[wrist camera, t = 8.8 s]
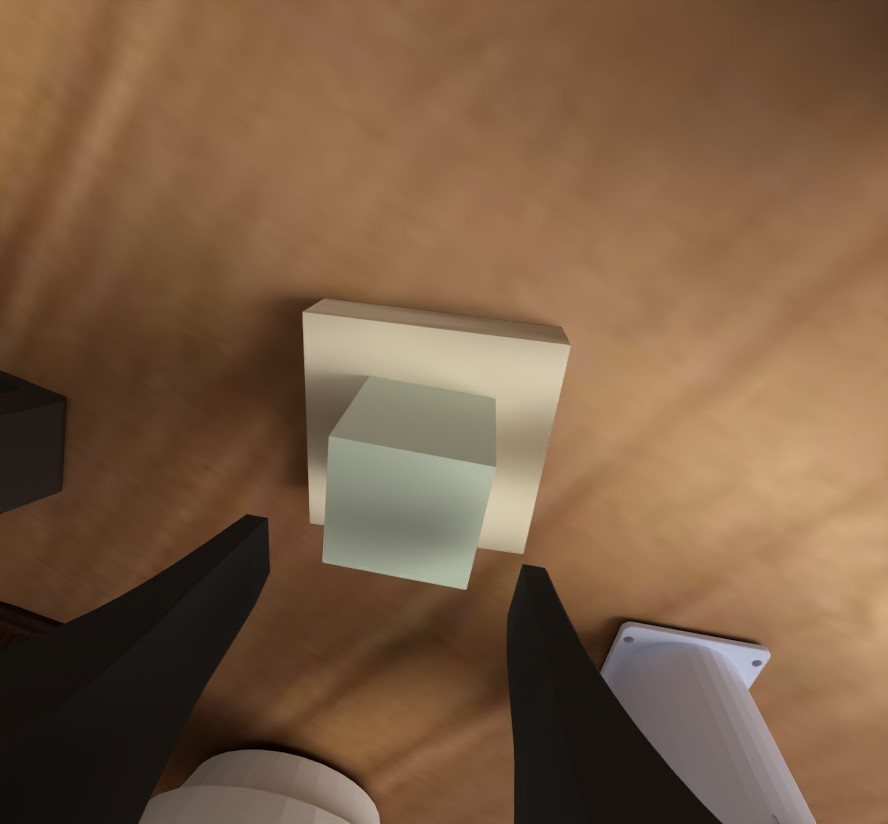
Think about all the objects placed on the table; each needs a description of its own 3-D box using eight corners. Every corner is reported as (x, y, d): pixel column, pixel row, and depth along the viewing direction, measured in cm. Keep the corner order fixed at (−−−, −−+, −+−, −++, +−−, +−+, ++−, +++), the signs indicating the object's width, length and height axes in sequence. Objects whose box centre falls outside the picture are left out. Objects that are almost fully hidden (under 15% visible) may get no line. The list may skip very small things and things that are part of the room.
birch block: (519, 513, 24) (523, 554, 21) (330, 486, 24) (310, 523, 22) (560, 323, 19) (571, 345, 17) (328, 295, 20) (302, 311, 17)
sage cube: (472, 501, 20) (466, 589, 16) (360, 480, 20) (322, 562, 16) (495, 398, 18) (496, 467, 13) (369, 375, 18) (329, 436, 14)
